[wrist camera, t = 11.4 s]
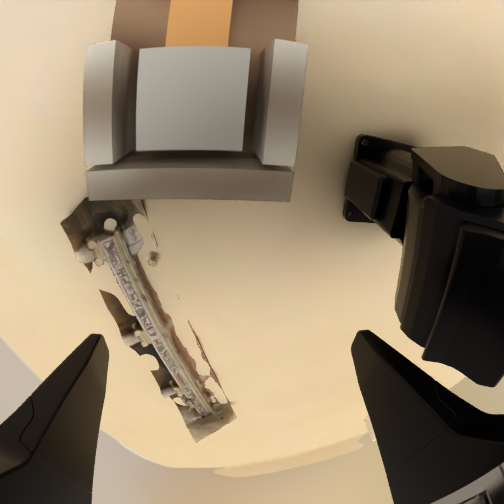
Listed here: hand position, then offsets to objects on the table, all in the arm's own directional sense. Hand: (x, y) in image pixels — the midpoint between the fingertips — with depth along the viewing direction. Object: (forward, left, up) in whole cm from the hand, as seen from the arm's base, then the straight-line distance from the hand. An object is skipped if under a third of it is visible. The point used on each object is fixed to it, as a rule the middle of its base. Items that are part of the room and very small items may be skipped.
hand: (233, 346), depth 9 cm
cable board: (+2, -17, -12) cm, 21 cm away
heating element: (+5, +13, -13) cm, 19 cm away
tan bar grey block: (+2, -17, -11) cm, 20 cm away
